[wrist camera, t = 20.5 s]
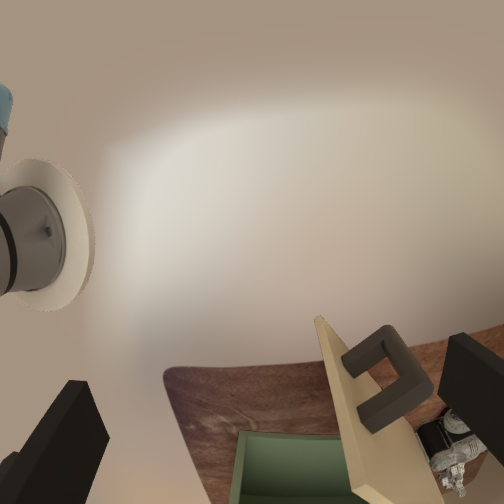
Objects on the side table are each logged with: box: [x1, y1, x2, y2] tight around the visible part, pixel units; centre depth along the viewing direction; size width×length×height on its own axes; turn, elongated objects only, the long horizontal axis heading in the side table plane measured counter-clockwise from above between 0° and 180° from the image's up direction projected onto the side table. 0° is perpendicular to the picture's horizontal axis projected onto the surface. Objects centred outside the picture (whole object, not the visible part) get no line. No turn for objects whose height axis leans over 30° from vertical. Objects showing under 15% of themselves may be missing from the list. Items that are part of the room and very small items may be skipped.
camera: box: [415, 409, 487, 471], centre depth 35 cm, size 15×7×10 cm, turn 102°
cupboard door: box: [314, 315, 445, 504], centre depth 26 cm, size 7×26×24 cm, turn 40°
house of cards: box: [438, 462, 466, 497], centre depth 40 cm, size 9×9×8 cm
